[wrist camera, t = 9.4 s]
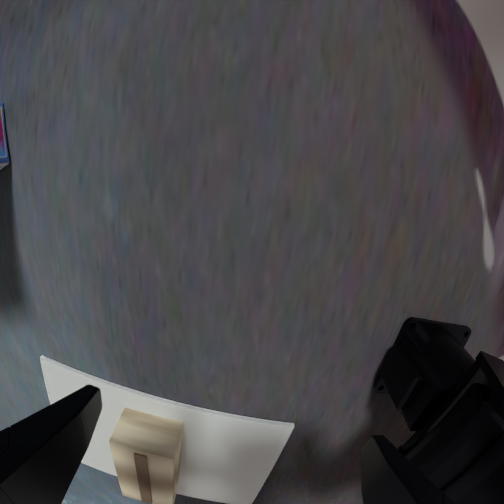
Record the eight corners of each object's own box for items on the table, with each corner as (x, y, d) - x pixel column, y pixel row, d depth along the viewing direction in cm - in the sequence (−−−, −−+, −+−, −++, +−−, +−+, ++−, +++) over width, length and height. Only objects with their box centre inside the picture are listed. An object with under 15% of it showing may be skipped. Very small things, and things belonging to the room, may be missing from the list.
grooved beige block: (179, 478, 25) (172, 510, 21) (133, 466, 25) (122, 496, 21) (183, 422, 22) (172, 461, 18) (124, 407, 22) (107, 442, 18)
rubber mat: (294, 423, 23) (294, 426, 22) (250, 503, 27) (250, 506, 27) (42, 355, 22) (39, 357, 21) (68, 454, 26) (66, 456, 26)
